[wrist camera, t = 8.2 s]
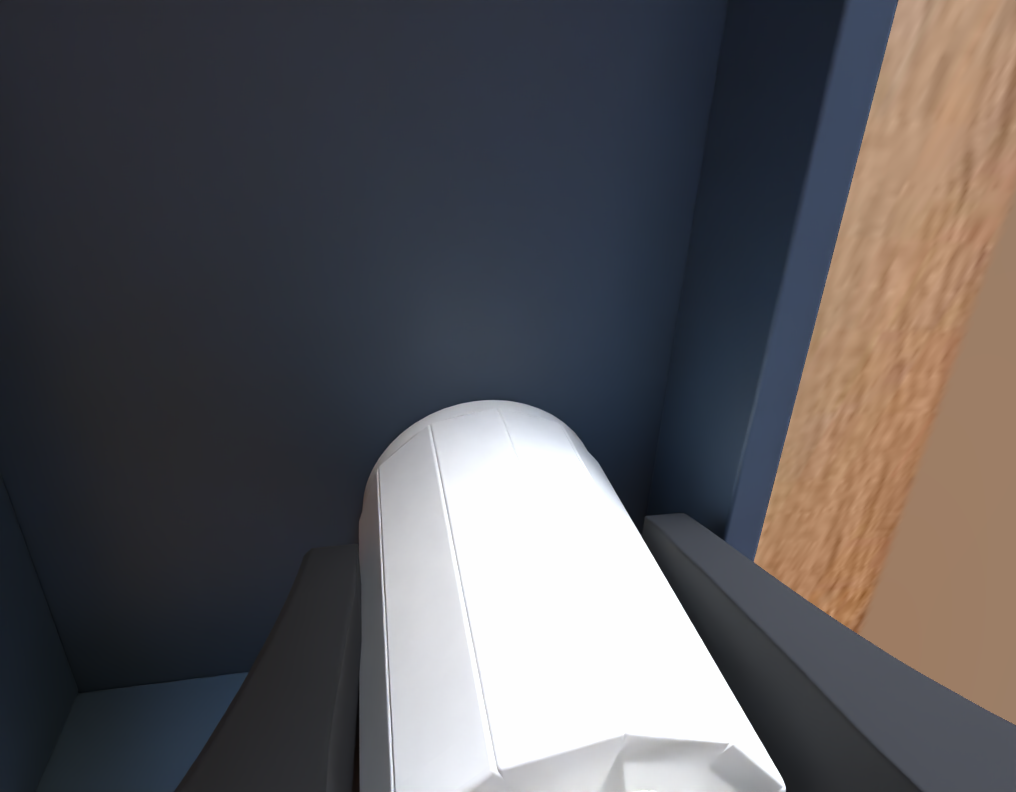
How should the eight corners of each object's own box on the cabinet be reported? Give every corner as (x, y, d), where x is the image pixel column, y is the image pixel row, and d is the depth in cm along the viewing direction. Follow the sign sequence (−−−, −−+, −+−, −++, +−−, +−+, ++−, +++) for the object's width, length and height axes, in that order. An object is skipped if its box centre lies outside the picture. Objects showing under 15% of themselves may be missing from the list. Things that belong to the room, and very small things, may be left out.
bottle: (631, 429, 11) (1091, 1067, 4) (544, 606, 13) (777, 1300, 6) (403, 371, 10) (514, 1146, 3) (334, 575, 12) (299, 1423, 4)
